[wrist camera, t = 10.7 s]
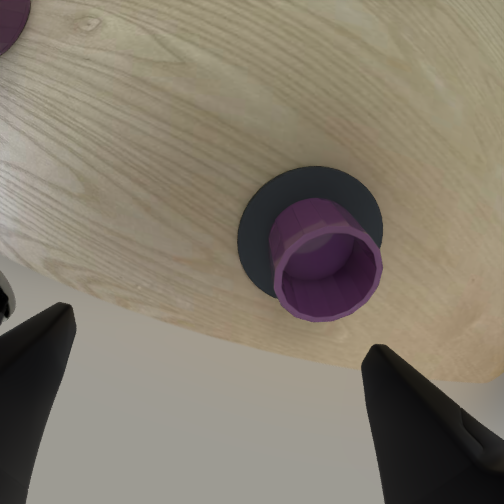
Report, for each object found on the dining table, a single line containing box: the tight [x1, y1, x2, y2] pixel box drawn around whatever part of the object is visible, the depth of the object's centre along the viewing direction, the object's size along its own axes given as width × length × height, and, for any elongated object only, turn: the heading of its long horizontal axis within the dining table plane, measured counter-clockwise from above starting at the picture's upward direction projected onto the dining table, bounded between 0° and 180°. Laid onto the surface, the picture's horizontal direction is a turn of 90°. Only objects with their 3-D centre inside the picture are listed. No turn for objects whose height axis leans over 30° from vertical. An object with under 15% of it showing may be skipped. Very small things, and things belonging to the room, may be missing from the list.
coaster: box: [237, 166, 383, 299], centre depth 20 cm, size 10×10×1 cm
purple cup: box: [268, 198, 383, 322], centre depth 17 cm, size 6×6×4 cm
